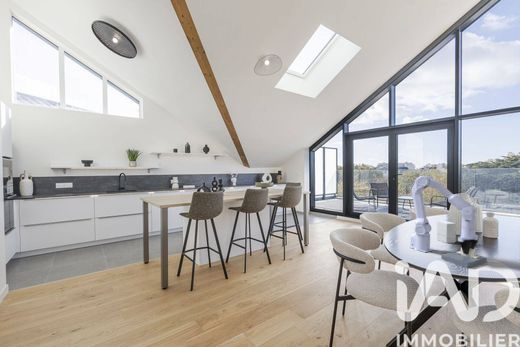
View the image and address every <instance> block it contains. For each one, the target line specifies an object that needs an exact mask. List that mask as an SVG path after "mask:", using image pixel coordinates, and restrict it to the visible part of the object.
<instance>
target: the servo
mask: <svg viewBox="0 0 520 347" xmlns="http://www.w3.org/2000/svg"><path fill="white" fill-rule="evenodd" d="M460 250H461V251H460ZM460 250H457V251H458V252H456V251H455V252H456V253H459V254H461V255H463V256H467V257H470V258H480V257H479V256H480V255H479V256H475V255H476V249H474V250H473V249H470V250H469V254H468V255H467V254H464V253H463V251H462V247H460Z"/></svg>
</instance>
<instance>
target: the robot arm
mask: <svg viewBox="0 0 520 347" xmlns="http://www.w3.org/2000/svg"><path fill="white" fill-rule="evenodd" d="M427 188H431V189H435V190H437V191H438V192H439V193H440V194H441V195H443V196H444V197H446V198H447V201H448V203H450V204H451V205H452V206H453V207H454V208H455V209H456V210H458V211H460V214H461V228H460V229H461V234H460V236H458V237H457V242H458V243H459V245H460V248H462V251H463V253H464V254H467V255H468V254H469V250H470V249H473V250H475V247H476V245H477V244H478V242H479V240H478V239H479V235H478V234H476V225H477V221H476V214H477V210H478V209H477V207H475V205H473V204H471V202H469V201H468V202H467V200H465V199H464V198H463V196H462V195H461V194H460V195H459V194H454V193H452V192H451V191H450V190H449V189H448V188H447V187H446V186H444V185H443V184H442V183H440V181H438V180H437V179H435V178H434V177H433V176H431V175H420V176H418V177H417V178H416V179H414V183H413V186H412V188H411V194H412V196H411V197H412V202H413V207H414V213H415V218H416V219H415V224H414V225H415V226H414V232H413V233H411V234H410V246H409V248H410V249H412V250H413V249H414V250H416V251H419V252H423V253H427V252H429V253H430V252H432V251H434V249H432V248H431V234H430V232H431V231H432V226H431V224H430V222H429V219H428V218H427V214H426V208H425V202H424V196H423V191H425V190H426V189H427Z"/></svg>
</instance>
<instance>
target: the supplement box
mask: <svg viewBox="0 0 520 347" xmlns="http://www.w3.org/2000/svg"><path fill="white" fill-rule="evenodd" d="M436 224H437V225H436V240H437V241H438V242H442V243H445V244H455V242H456V243H457V239H456V238H457V223H456V222H451V221H447V220H440V221H436Z"/></svg>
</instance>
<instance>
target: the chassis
mask: <svg viewBox="0 0 520 347" xmlns="http://www.w3.org/2000/svg"><path fill="white" fill-rule="evenodd" d="M458 251H461V249H460V250H457V251H451V252H448V253H444V254H441V260H442V259H443V260H442V261H446V262H449V263H450V264H451V263H452V264H455V265H458V266H460V267H464V268H467V269H468V268H471V267H475V266H480V265H482V264H485V263H488V262H487V257H485V256H483V255H478V254H475V256H479V257H480V258H470V257H467V256H463V255H461V254H459V253H456V252H458Z"/></svg>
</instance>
